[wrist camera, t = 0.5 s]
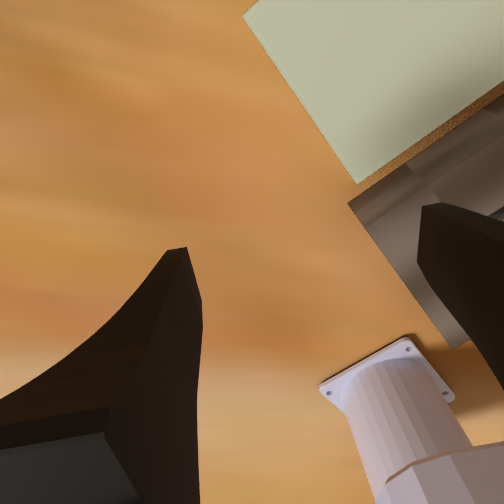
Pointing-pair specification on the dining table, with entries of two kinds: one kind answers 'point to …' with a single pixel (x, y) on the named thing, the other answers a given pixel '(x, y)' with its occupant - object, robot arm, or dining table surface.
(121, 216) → the dining table surface
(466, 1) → the pad
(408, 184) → the block
